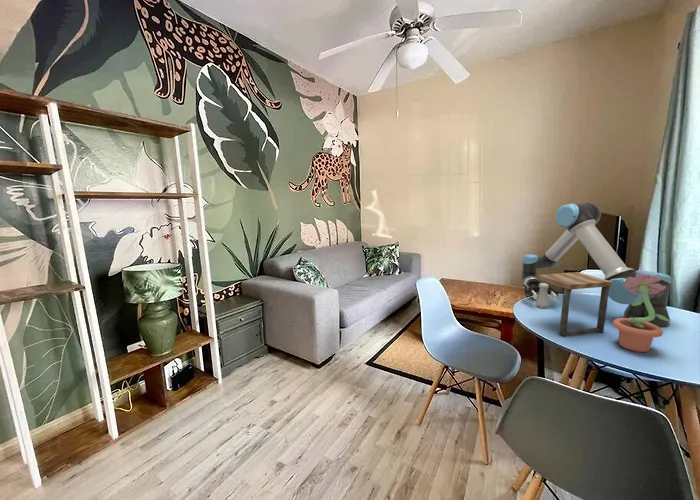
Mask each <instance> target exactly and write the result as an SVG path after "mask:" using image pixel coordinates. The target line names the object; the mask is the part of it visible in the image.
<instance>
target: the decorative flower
mask: <svg viewBox="0 0 700 500" xmlns="http://www.w3.org/2000/svg"><path fill="white" fill-rule="evenodd" d="M647 277H648V275H647V274H638V275H636V278H632V277H628V278H627V279H626V280H625V283H626V284H623V287H624V288H626V289H628V291H630V292H632V293H634V294H642V298H643V300H639V301H636V302H634V303H633V304H632V306H637V305H641V304H642V303H643V302H644V304H645V306H646V308H647V310H648V313H649V315H648V316H647V317H642V318H641V317H637V318H632V317H629V318H625V317H618V318H615V319H614V320H613V321H612V326H613V328H615V329H617V330H618V343H619V345H620V346H621V347H623V348H624V349H627V350H630V351H633V352H640V353H644V352H645V353H646V352H649V351H650V349H651V347H652V343H653V339H654V338H659V337H662V336H663V334H664V332H663V330H662V327H658V326H656V325H654V324H651V323H649V321H651V320H653V319H654V318H655V315H656V316H657V317H658V318H660V319H662V320H665V321H669V319H667V318H666V317H664V316H662V315H659V314H655V311H654V309H653V307H652V305H651V302H650V299H649V295H648V294H657V293H659V291H662V290H664V289H665V288H666V286H661V285H660V284H653V283H655V282H658V281H660V278H659V277H657V276H653V275H652V276H650V277H649V278H647ZM669 322H670V323H671V320H670V321H669Z"/></svg>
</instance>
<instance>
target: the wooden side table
mask: <svg viewBox="0 0 700 500" xmlns="http://www.w3.org/2000/svg"><path fill="white" fill-rule="evenodd" d="M538 280H539V281H543V282H544V283H545V282H546V283H547V284H548V283H549V284H551V285H554V286H557V287H559V288H563V291H562V293H563V295H562V303H561V312H560V323H559V332H558V335H559V336H560V337H562V338H566V337H570V336H580V335H589V334H592V335H593V334H603V333H604V330H605V324H606V315H607V309H608V300H609V296H608V294H609V287H610V286H612V282H611V281H608V280H604V278H600V277H597V276H593V275H589V274H586V273H583V272H579V271H575V272H562V273H561V272H560V273H549V274H548V273H546V274H539V275H538ZM594 288H601V292H600V297H599V298H600V300H599V305H598V314H597V323H596V327H588V328H580V329H571V330H570V329H569V330H568V321H569V311H570V303H571V294H572V290H582V289H583V290H584V289H594Z"/></svg>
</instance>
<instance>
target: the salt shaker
mask: <svg viewBox="0 0 700 500" xmlns="http://www.w3.org/2000/svg"><path fill="white" fill-rule="evenodd" d="M549 286H550V285H549V284H548V283H547V282H546V283H545V282H541V283H540V284H539V288H540V290H539V292H538V294H537V298H536V299H535V304H536V306H537V308H539V309H547V308H548V307H549V305H550V303H549V294H548V293H547V289H548V288H549Z"/></svg>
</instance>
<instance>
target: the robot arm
mask: <svg viewBox="0 0 700 500" xmlns="http://www.w3.org/2000/svg"><path fill="white" fill-rule="evenodd" d="M601 216H602V212H601V209H600V208H599V207H598V205H596V204H594V203H591V202H584V203H583V202H582V203H581V202H580V203H567V204H564V205H561V206H560V207H559V208H558V209H557V211H556V213H555V222H556V224H557V225H558V226H559V227H561V228H566V230H565V231H564V232H563V233H562V234H561V236H560V237H559V238H558V239H557V240H556V241H555V242H554V243H553V245H551V246H550V248H549V249H548V250H547V251H546V252H544V254H543V255H542V256H538V255H537V254H531V253H530V254H529V253H527V254H524V256H523V259H522V271H521V274H520V277H519V278H520V281H521V283H522V284H523V285H522V290H523V292H524V294H525V295H528V297H532V298H533V299H534V300H536V299H537V296H538V294H537V293H539V290H540V288H539V284H540V283H542V282H541V280H540V279H539V278H537V272H538V270H543V269H545V270H546V269H552V268H555V267H557V265H558V263H559V261H558V260H559V259H561V257H563V256H564V255H565V253H566V252H567V251H568V250H569V249H570V248H571V247H572V246H574V244H575V243H576V242H577V241H579V242H580V243H581V244H582V245H583V247H584V248H585V250H586V251H587V253H588V254H589V256H590V257H591V258H592V260H593V261H594V262H595V263H596V265H597V266H598V268H599V270H601V272H602V273H603V275H604V278H603V279H604V280H608V281H611V282H612V286H610V287H609V294H608V298H609V299H611V300H612V301H614V302H616V303H618V304H620V305H621V304H622V305H627V307H626V308H625V309H624V312H623V318H629V317H632V318H637V317H641V318H642V317H647V316H648V315H649V313H648V310H647V308H646V306H645V304H644V302H643V303H642V304H641V305H637V306H632V304H633V303H634V302H636V301H639V300H643V298H642V294H634V293H632V292H630V291H628V289H626V288H624V287H623V284H626V283H625V280H626V279H627V278H628V277H632V278H636V275H638V274H647V275H648V277H647V278H649V277H650V276H652V275H653V276H657V277H659V278H660V281H658V282H655V283H653V284H660V285H661V286H666V288H665V289H664V290H662V291H659V293H657V294H648V295H649V299H650V302H651V305H652V307H653V309H654V311H655V314H659V315H662V316H664V317H666V318H667V319H669V321H670V322H669V321H665V320H662V319H660V318H658V317H657V316H656V315H655V318H654V319H653V320H651V321H649V323H651V324H654V325H656V326H658V327H660V328H665V327H666V328H667V327H669V326H670V323H671V319H670V316H669V312H668V308H667V306H668V301H669V295H670V290H671V286H672V277H671V276H670V275H669V274H666V273H661V272H655V271H649V270H640V269H639V270H635V269H634V268H631V267H627V265H626V264H625V263H624V261H623V260H622V259H621V257H620V256H619V255H618V253H616V251H615V250H614V249H613V247H612V246H611V245H610V243H609V242H608V241H607V240H606V239H605V237H604V236H603V234H602V233H601V232H600V230H599V229H598V228H597V227H596V225H597V224H598V223H599V221H600V219H601ZM547 293H548V296H550V298H551V299H553V300H554V301H558V299H557V298H558V296H559V291H558V290H557V289H555V288H553V287H551V285H549V288H548V289H547Z"/></svg>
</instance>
